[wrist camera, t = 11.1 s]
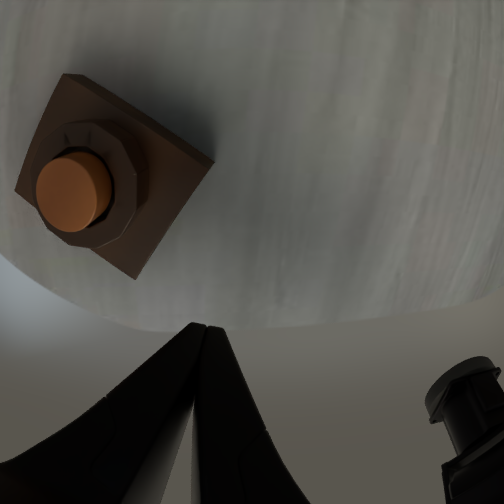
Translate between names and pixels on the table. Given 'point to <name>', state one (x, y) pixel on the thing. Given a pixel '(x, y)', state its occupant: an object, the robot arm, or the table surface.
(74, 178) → the button
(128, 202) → the button block
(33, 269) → the table surface
